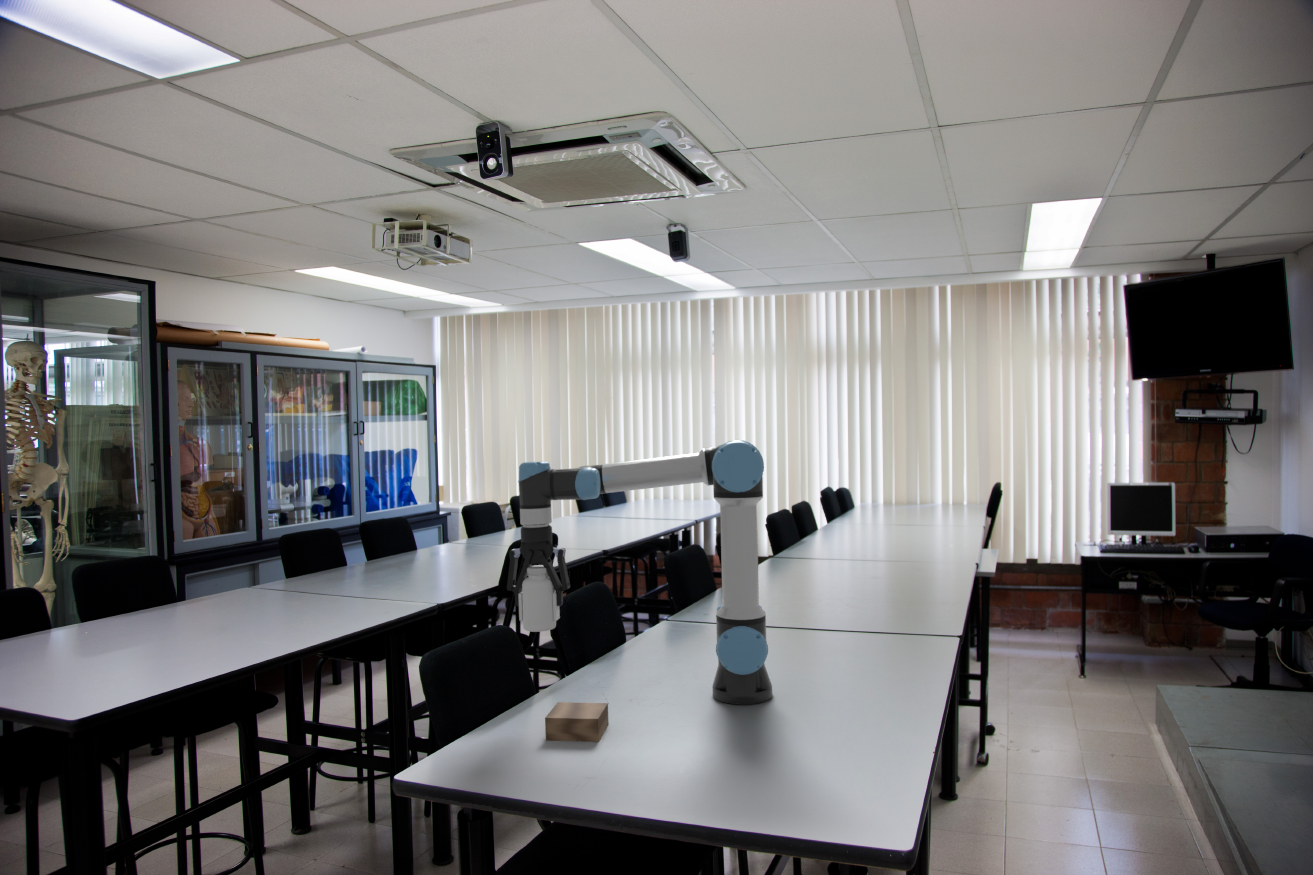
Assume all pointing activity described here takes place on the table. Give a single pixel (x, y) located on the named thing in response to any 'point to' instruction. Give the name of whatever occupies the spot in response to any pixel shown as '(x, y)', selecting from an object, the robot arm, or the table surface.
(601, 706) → the walnut stand
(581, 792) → the table surface
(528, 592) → the pill bottle
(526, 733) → the table surface
